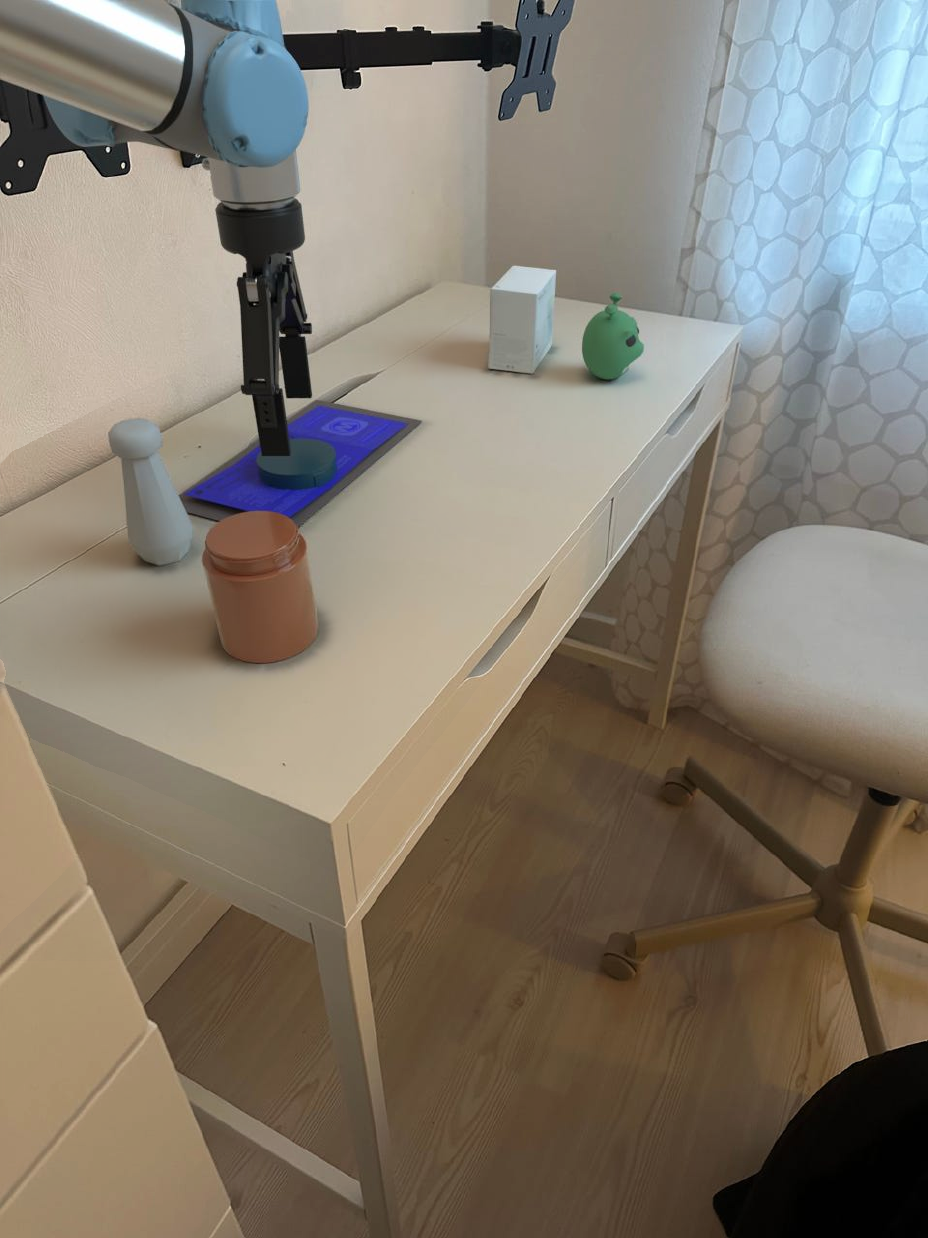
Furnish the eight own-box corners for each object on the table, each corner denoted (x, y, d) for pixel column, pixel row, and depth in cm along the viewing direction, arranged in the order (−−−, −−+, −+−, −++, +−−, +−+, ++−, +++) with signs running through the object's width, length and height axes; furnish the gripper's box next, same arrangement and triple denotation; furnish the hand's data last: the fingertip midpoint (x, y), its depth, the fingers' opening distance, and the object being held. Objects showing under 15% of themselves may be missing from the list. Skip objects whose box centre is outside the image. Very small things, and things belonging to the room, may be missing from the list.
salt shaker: (209, 541, 85) (180, 413, 77) (178, 574, 81) (144, 443, 73) (154, 533, 86) (120, 407, 78) (121, 565, 82) (81, 435, 74)
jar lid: (351, 476, 94) (350, 460, 93) (279, 499, 90) (277, 483, 89) (315, 447, 100) (313, 431, 98) (246, 467, 96) (243, 451, 95)
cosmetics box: (535, 375, 115) (538, 292, 109) (487, 369, 117) (487, 288, 110) (554, 346, 123) (557, 267, 117) (509, 341, 125) (510, 263, 118)
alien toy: (637, 391, 111) (645, 310, 105) (575, 385, 112) (580, 305, 106) (643, 369, 116) (651, 291, 110) (584, 364, 118) (589, 287, 112)
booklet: (408, 423, 104) (408, 417, 104) (285, 526, 86) (284, 520, 86) (319, 405, 108) (318, 399, 108) (184, 500, 91) (183, 494, 90)
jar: (223, 671, 70) (198, 570, 64) (218, 612, 76) (196, 514, 70) (324, 653, 71) (310, 552, 66) (312, 596, 78) (298, 500, 72)
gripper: (244, 170, 89) (274, 376, 101) (176, 237, 69) (224, 482, 81) (320, 170, 88) (340, 376, 101) (274, 236, 69) (306, 482, 81)
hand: (288, 424), depth 91 cm, fingers open, 13 cm apart
